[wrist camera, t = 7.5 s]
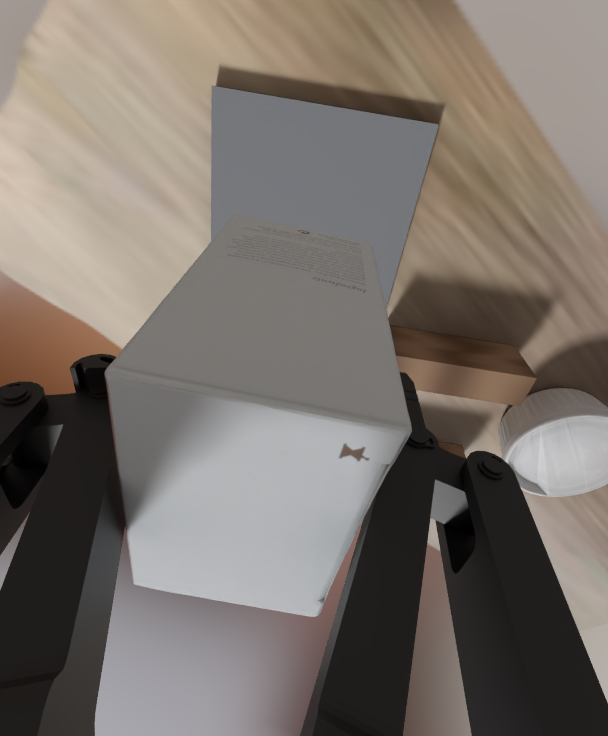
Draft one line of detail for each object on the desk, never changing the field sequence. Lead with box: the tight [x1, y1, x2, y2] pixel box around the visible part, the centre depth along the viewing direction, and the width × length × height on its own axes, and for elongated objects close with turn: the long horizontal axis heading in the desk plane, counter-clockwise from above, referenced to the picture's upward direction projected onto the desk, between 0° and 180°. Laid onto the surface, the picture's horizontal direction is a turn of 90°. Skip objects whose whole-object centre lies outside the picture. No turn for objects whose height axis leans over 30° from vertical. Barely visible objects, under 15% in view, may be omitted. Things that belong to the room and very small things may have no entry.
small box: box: [104, 214, 412, 617], centre depth 13 cm, size 8×6×10 cm
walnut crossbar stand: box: [390, 326, 537, 458], centre depth 38 cm, size 12×16×5 cm
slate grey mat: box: [211, 86, 439, 306], centre depth 30 cm, size 15×15×1 cm
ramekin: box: [499, 388, 608, 497], centre depth 38 cm, size 11×11×5 cm
